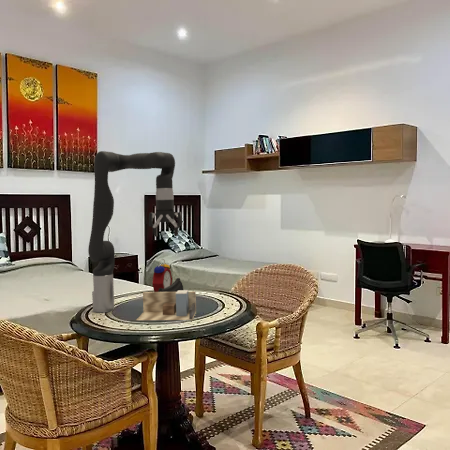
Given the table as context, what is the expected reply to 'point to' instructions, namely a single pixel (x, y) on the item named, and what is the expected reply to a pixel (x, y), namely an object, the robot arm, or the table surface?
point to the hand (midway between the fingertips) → (165, 236)
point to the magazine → (173, 287)
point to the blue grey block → (182, 303)
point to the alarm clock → (161, 277)
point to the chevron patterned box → (165, 306)
